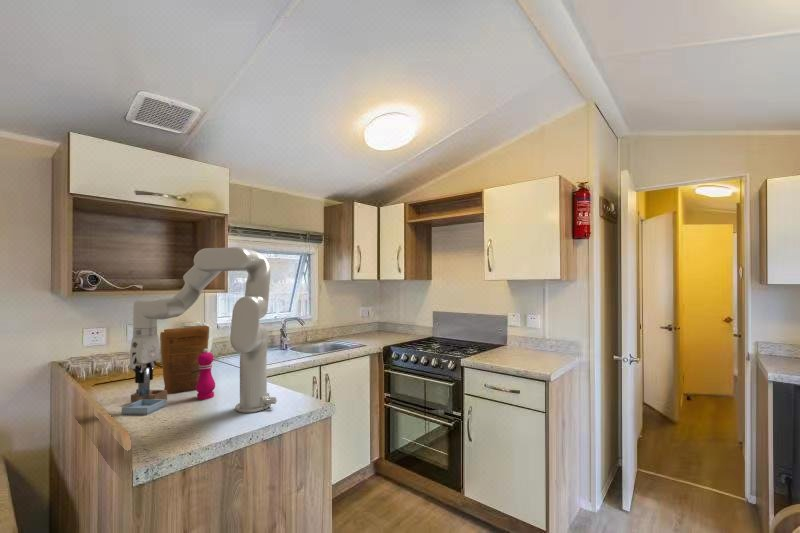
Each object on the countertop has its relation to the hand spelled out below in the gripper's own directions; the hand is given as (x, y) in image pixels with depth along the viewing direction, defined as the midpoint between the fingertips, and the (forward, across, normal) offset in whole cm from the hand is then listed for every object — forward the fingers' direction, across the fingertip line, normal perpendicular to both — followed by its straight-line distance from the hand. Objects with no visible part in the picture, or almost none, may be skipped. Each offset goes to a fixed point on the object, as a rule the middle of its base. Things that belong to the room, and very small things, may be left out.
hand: (144, 380), depth 146 cm
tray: (+11, 0, 0) cm, 11 cm away
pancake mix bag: (+11, +25, 0) cm, 27 cm away
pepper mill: (+11, +16, -14) cm, 24 cm away
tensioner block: (+11, +9, +4) cm, 15 cm away
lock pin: (+5, 0, 0) cm, 5 cm away
